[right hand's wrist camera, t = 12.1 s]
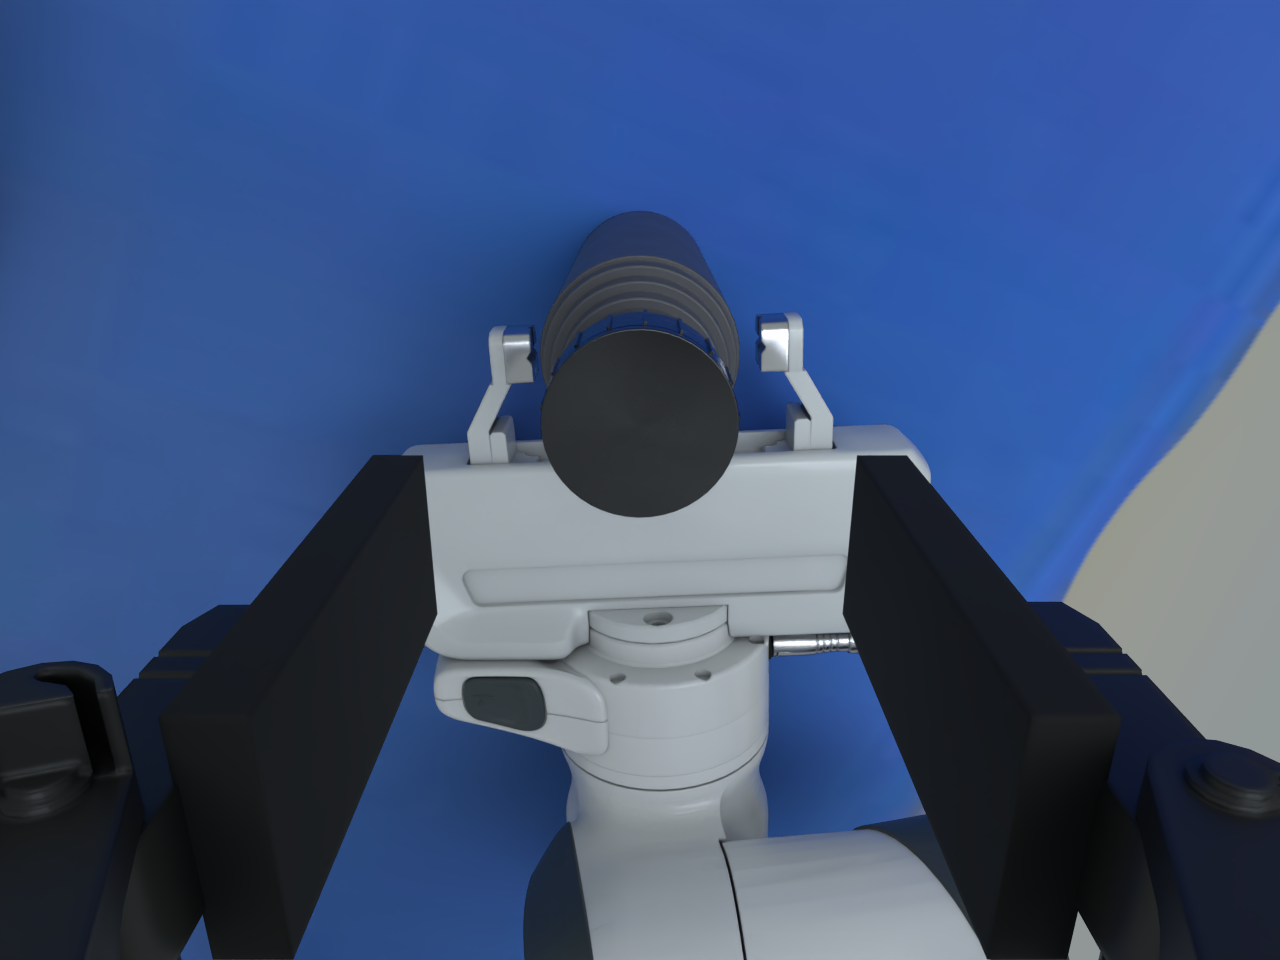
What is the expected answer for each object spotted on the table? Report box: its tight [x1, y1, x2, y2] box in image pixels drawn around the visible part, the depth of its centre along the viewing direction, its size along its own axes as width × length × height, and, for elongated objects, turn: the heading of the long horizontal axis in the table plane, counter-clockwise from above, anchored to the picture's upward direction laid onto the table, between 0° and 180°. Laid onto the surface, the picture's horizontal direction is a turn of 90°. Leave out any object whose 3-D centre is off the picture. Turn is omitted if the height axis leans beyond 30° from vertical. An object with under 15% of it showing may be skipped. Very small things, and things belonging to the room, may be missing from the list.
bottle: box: [540, 211, 740, 388], centre depth 29 cm, size 6×6×20 cm
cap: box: [540, 310, 740, 518], centre depth 20 cm, size 4×4×2 cm
